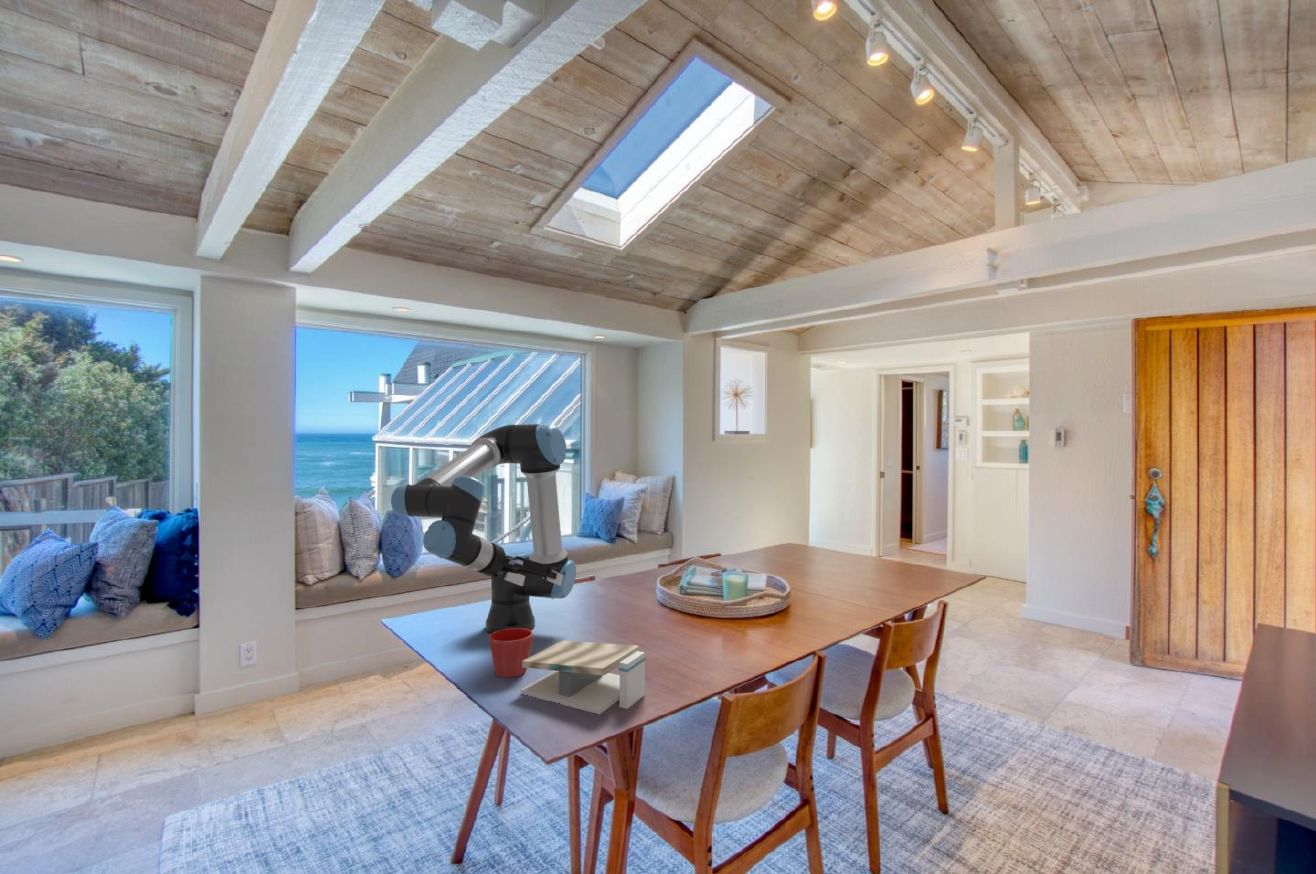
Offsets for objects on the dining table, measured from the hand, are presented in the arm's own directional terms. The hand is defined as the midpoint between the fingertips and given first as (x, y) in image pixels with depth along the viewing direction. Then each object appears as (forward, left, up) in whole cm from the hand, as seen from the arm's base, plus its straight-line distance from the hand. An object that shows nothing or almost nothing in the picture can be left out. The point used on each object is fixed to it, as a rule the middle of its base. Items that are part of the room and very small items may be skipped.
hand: (541, 580), depth 158 cm
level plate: (+19, -8, -15) cm, 25 cm away
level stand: (+21, -8, -22) cm, 31 cm away
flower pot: (-3, -8, -22) cm, 24 cm away
